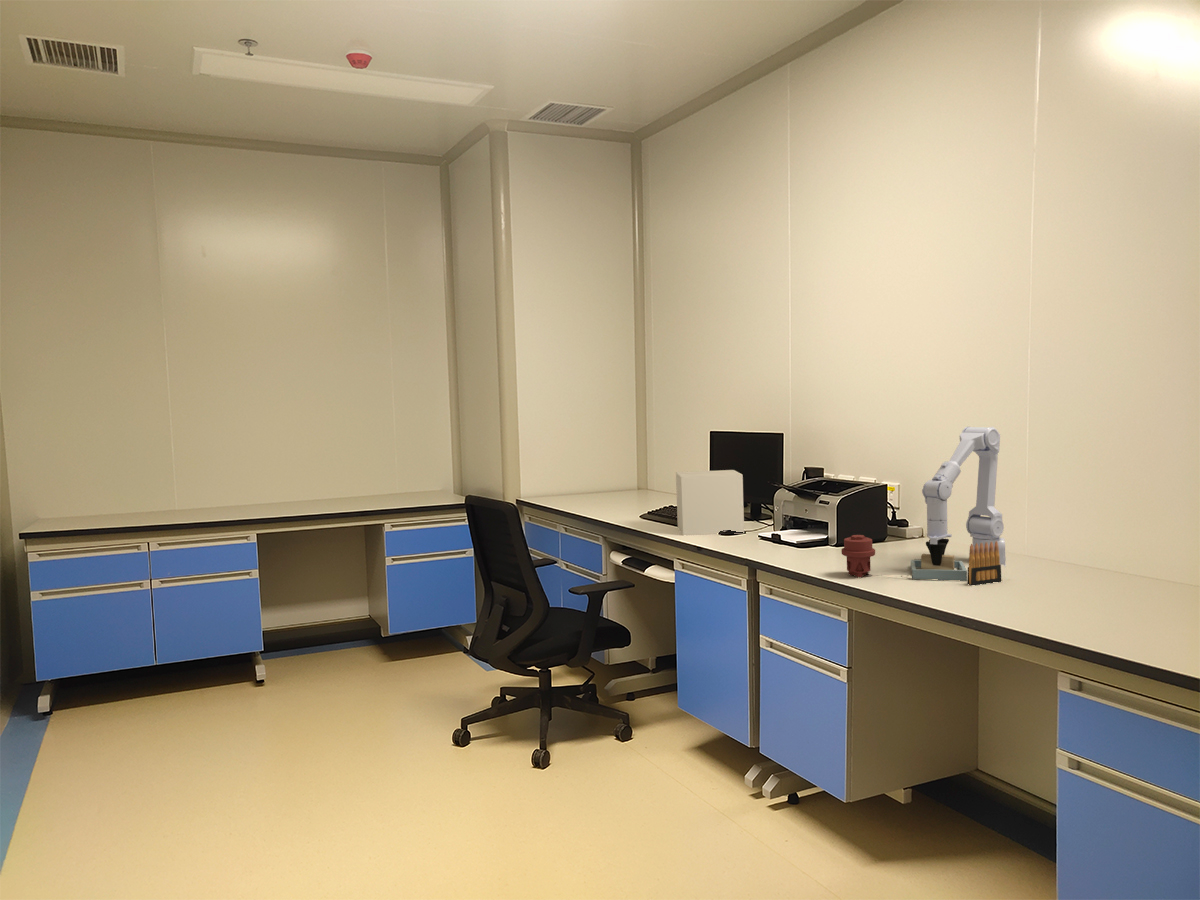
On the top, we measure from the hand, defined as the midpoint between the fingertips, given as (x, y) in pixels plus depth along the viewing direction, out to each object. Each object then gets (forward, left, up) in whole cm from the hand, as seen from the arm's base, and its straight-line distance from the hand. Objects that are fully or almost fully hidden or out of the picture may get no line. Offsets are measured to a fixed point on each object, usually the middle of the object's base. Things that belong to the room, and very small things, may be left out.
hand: (937, 563), depth 261 cm
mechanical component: (+23, +4, -4) cm, 24 cm away
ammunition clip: (-12, +10, -4) cm, 16 cm away
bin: (0, 0, -3) cm, 3 cm away
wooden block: (0, 0, -3) cm, 3 cm away
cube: (+85, -78, -4) cm, 115 cm away
